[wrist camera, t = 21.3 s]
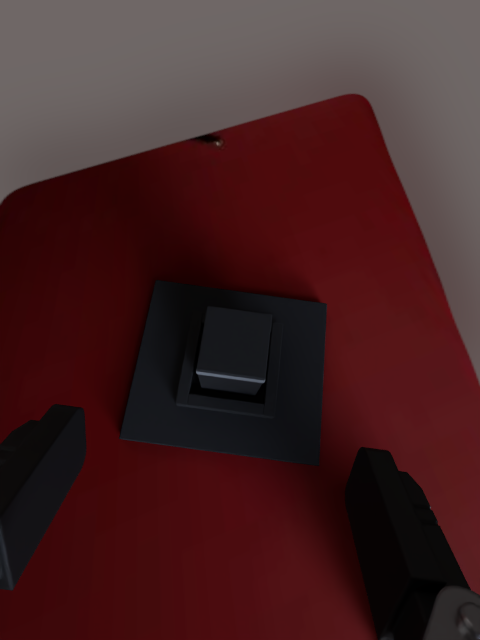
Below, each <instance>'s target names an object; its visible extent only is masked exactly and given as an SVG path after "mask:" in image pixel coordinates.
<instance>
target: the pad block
mask: <svg viewBox="0 0 480 640" xmlns="http://www.w3.org/2000/svg"><path fill="white" fill-rule="evenodd" d="M271 321H272V315H271V314H264V313H257V312H250V311H242V310H235V309H228V308H221V307H213V306H207V310H206V316H205V322H204V327H203V333H202V339H201V345H200V351H199V356H198V362H197V368H196V373H197V374H198V377H199V381H200V385H201V389H203V390H210V391H218V392H225V393H232V394H240V395H247V396H255V395H256V393H257V392H258V390H259V388H260V387H261V385H262V383H264V382H265V378H266V369H267V360H268V350H269V341H270V331H271Z"/></svg>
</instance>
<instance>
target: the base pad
mask: <svg viewBox="0 0 480 640" xmlns="http://www.w3.org/2000/svg"><path fill="white" fill-rule="evenodd" d="M207 306H213V307H221V308H228V309H235V310H242V311H250V312H257V313H264V314H271V315H272V321H271V331H270V341H269V350H268V360H267V369H266V378H265V382H264V383H262V385H261V387H260V388H259V390H258V392H257V393H256V395H255V396H247V395H240V394H232V393H225V392H218V391H210V390H203V389H201V385H200V381H199V377H198V374H197V373H196V368H197V362H198V356H199V351H200V345H201V339H202V333H203V327H204V322H205V316H206V310H207ZM326 311H327V304H325V303H318V302H311V301H304V300H297V299H289V298H282V297H275V296H268V295H261V294H253V293H246V292H239V291H232V290H225V289H218V288H210V287H203V286H196V285H189V284H182V283H174V282H167V281H160V280H156V281H155V286H154V290H153V294H152V299H151V303H150V307H149V312H148V316H147V320H146V324H145V329H144V333H143V337H142V342H141V346H140V350H139V355H138V359H137V363H136V368H135V372H134V376H133V381H132V385H131V389H130V393H129V398H128V402H127V406H126V411H125V415H124V419H123V424H122V428H121V432H120V437H119V439H124V440H131V441H139V442H146V443H153V444H161V445H168V446H175V447H183V448H190V449H197V450H205V451H212V452H219V453H227V454H234V455H241V456H249V457H256V458H263V459H271V460H278V461H285V462H293V463H300V464H307V465H315V466H319V457H320V436H321V415H322V394H323V374H324V353H325V332H326Z"/></svg>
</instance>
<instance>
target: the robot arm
mask: <svg viewBox="0 0 480 640" xmlns="http://www.w3.org/2000/svg"><path fill="white" fill-rule="evenodd" d="M85 455H86V434H85V416H84V410H83V408H81V407H73V406H66V405H59V404H55V405H53V406H52V407H51V408H50V409H49V410H48V411H47V412H46V414H45V415H44V416H43V417H42V418H41V420H40V421H35V420H30V421H28V422H27V423H25V424H23V425H22V426H20V427H19V428H17V429H15V430H14V431H12V432H11V433H10V434H9V436H8V437H7V438H6V439H5V440H4V441H3V442H2V443H1V444H0V589H5V590H13V589H14V587H15V585H16V583H17V581H18V580H19V578H20V576H21V574H22V573H23V571H24V569H25V567H26V566H27V564H28V562H29V560H30V559H31V557H32V555H33V553H34V551H35V550H36V548H37V546H38V544H39V543H40V541H41V539H42V537H43V536H44V534H45V532H46V530H47V529H48V527H49V525H50V523H51V522H52V520H53V518H54V516H55V514H56V513H57V511H58V509H59V507H60V506H61V504H62V502H63V500H64V499H65V497H66V495H67V493H68V492H69V490H70V488H71V486H72V484H73V483H74V481H75V479H76V477H77V476H78V474H79V472H80V470H81V468H82V466H83V463H84V459H85ZM345 504H346V510H347V514H348V518H349V522H350V526H351V530H352V534H353V539H354V543H355V547H356V551H357V555H358V559H359V563H360V567H361V572H362V576H363V580H364V584H365V588H366V592H367V596H368V600H369V605H370V609H371V613H372V617H373V621H374V625H375V629H376V633H377V638H378V640H480V595H478V594H477V593H475V592H473V591H471V589H470V587H469V585H468V584H467V581H466V579H465V577H464V575H463V573H462V571H461V569H460V567H459V565H458V563H457V561H456V559H455V557H454V554H453V552H452V550H451V548H450V546H449V544H448V542H447V540H446V538H445V536H444V534H443V532H442V530H441V528H440V526H438V524H437V523H438V521H437V519H436V517H435V515H434V513H433V511H432V510H430V505H429V503H428V501H427V499H426V496H425V494H424V492H423V490H422V488H421V487H420V486H419V485H418V484H417V483H416V482H415V481H414V479H413V478H412V477H411V476H410V475H409V474H408V473H407V472H401V471H398V469H397V466H396V464H395V462H394V459H393V457H392V455H391V453H390V452H389V451H387V450H380V449H373V448H366V447H361V448H360V449H359V450H358V453H357V456H356V458H355V461H354V464H353V467H352V470H351V473H350V476H349V479H348V481H347V485H346V490H345Z"/></svg>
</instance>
